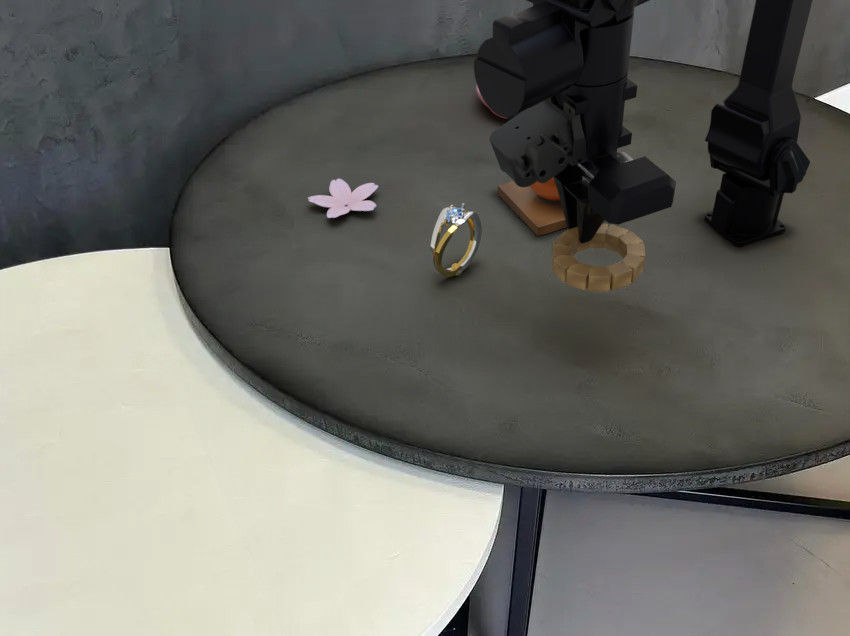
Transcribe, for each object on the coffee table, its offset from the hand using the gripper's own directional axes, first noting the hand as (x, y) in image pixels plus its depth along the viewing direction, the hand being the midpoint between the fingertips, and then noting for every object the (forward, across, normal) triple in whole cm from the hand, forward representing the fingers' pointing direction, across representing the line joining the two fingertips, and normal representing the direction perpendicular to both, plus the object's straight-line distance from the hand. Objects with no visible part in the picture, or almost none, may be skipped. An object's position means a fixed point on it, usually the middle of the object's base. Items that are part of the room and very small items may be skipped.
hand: (579, 236), depth 92 cm
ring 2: (+1, +3, 0) cm, 3 cm away
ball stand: (+11, -21, +10) cm, 25 cm away
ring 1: (+11, -14, -6) cm, 19 cm away
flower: (+11, -32, -12) cm, 36 cm away
